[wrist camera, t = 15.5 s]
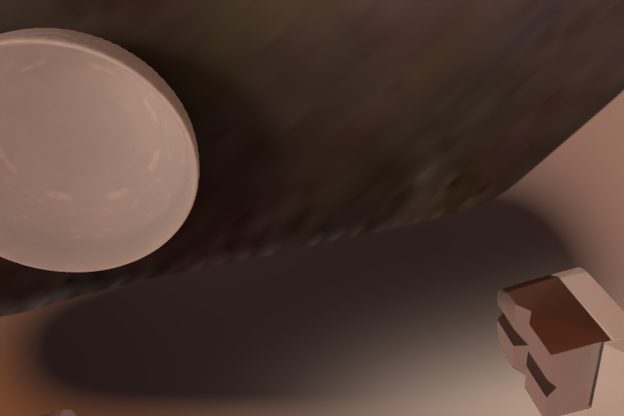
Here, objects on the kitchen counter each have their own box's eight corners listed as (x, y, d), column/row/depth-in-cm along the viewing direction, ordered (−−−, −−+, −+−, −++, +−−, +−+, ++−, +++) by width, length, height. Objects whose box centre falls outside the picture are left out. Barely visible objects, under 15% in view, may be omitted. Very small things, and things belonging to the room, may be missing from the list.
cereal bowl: (188, 6, 35) (185, 36, 29) (208, 210, 44) (209, 263, 39) (-89, 9, 32) (-153, 42, 27) (-6, 225, 42) (-41, 284, 36)
